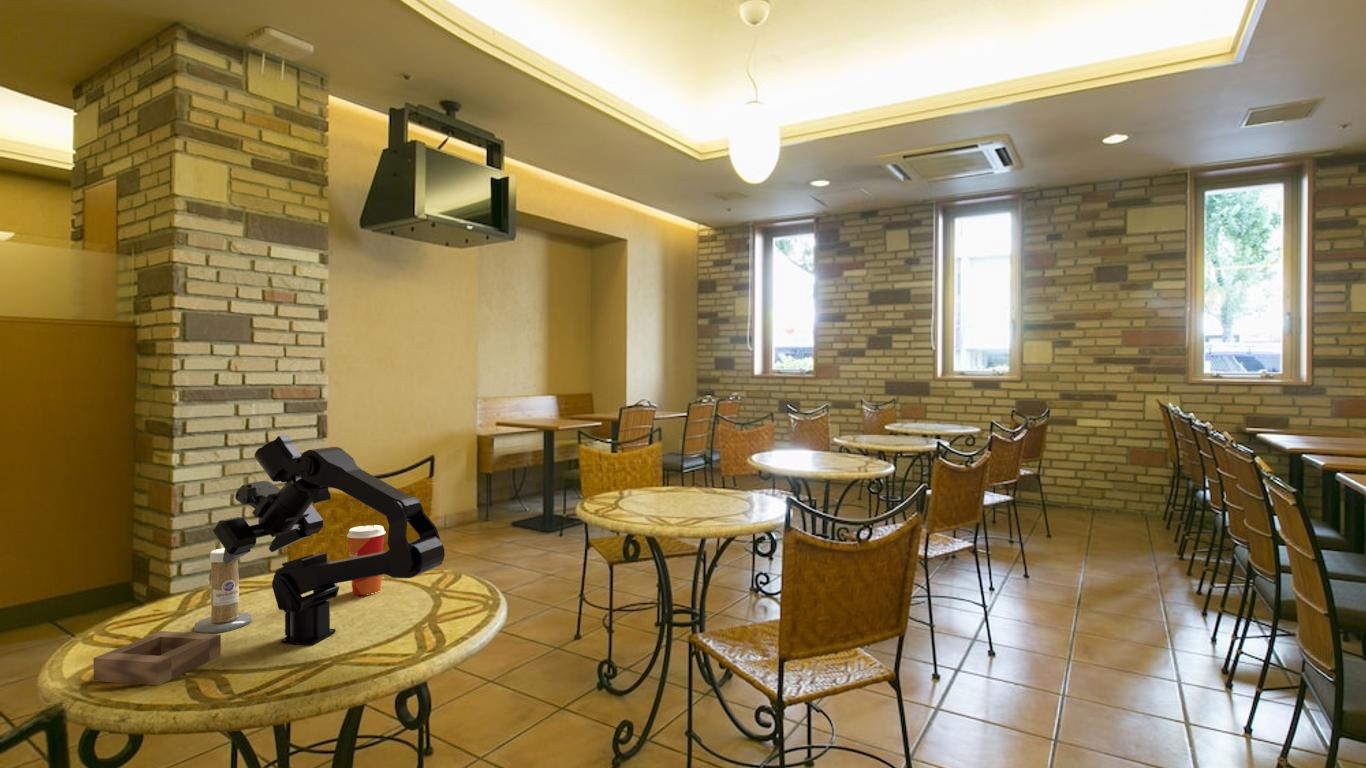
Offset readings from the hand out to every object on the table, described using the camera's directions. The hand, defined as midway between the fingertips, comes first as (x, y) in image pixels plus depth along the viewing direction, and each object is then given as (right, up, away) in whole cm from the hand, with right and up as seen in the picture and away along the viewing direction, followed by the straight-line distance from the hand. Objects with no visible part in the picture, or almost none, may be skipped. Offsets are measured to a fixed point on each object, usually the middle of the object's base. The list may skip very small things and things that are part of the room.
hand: (248, 556), depth 127 cm
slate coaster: (-6, -14, +2) cm, 15 cm away
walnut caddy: (-3, -14, -17) cm, 22 cm away
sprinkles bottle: (-6, -13, +2) cm, 14 cm away
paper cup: (+12, -14, +22) cm, 28 cm away
